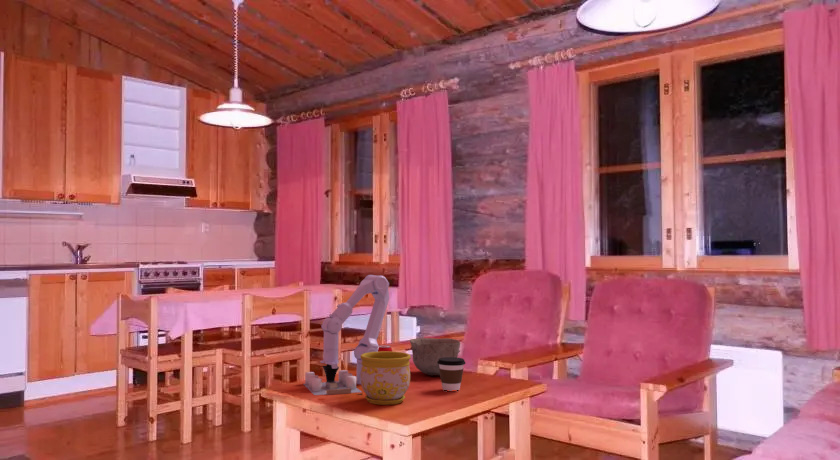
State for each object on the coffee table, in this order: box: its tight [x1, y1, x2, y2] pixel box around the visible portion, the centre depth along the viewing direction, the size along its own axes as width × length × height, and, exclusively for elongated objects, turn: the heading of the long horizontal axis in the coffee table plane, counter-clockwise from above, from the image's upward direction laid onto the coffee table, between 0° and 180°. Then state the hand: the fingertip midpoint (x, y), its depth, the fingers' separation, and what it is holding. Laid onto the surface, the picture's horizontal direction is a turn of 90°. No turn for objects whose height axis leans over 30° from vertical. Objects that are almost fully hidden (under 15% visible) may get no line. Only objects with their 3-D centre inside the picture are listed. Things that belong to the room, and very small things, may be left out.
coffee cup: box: [437, 356, 466, 391], centre depth 257 cm, size 11×11×12 cm
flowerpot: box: [360, 351, 412, 406], centre depth 237 cm, size 18×18×16 cm
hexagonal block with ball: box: [325, 380, 339, 390], centre depth 253 cm, size 5×5×3 cm
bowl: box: [409, 337, 461, 376], centre depth 289 cm, size 22×22×15 cm
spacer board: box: [303, 369, 363, 396], centre depth 254 cm, size 18×23×6 cm
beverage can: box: [378, 344, 393, 352], centre depth 291 cm, size 6×6×12 cm
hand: (330, 384), depth 256 cm, fingers closed
